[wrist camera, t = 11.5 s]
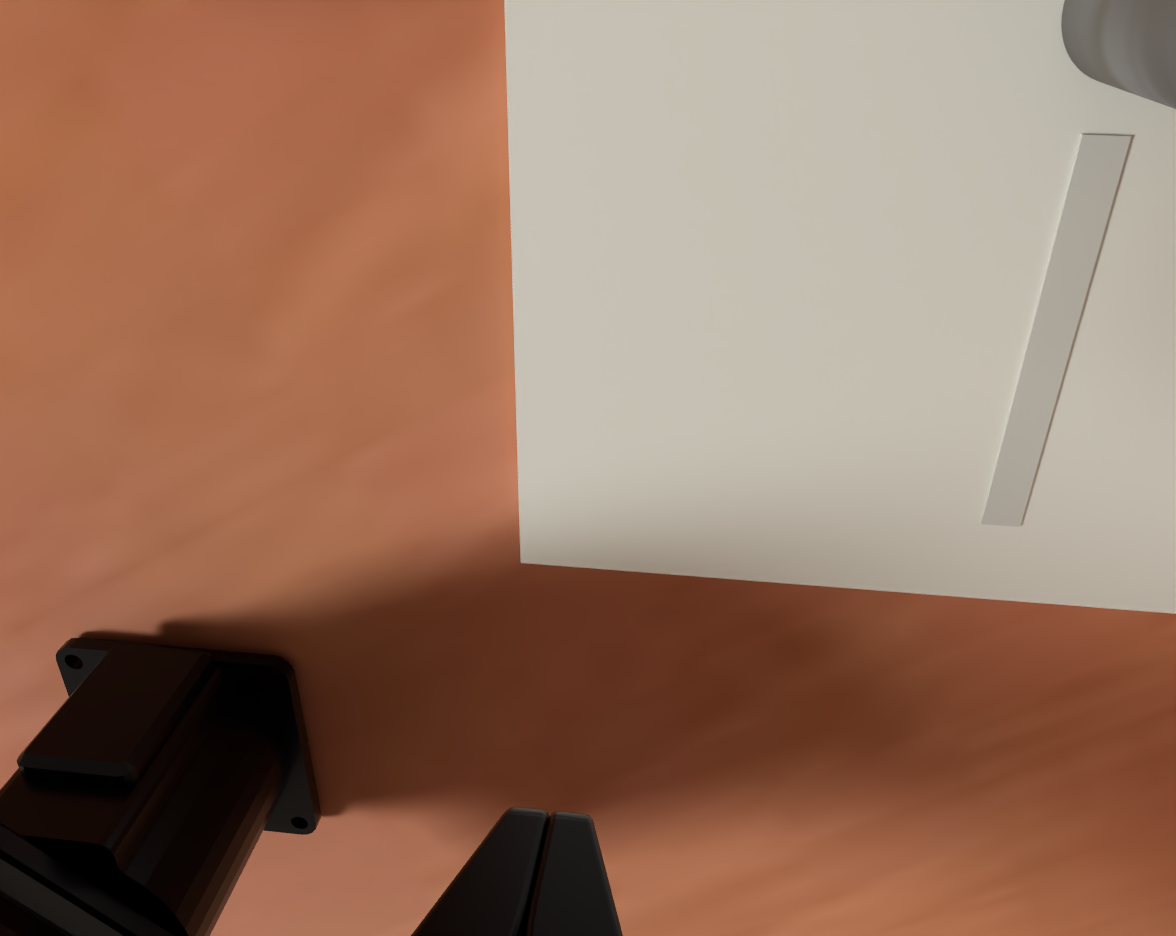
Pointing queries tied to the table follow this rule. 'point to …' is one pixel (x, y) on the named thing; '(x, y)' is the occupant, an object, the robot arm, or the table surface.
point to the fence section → (1124, 44)
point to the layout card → (841, 299)
